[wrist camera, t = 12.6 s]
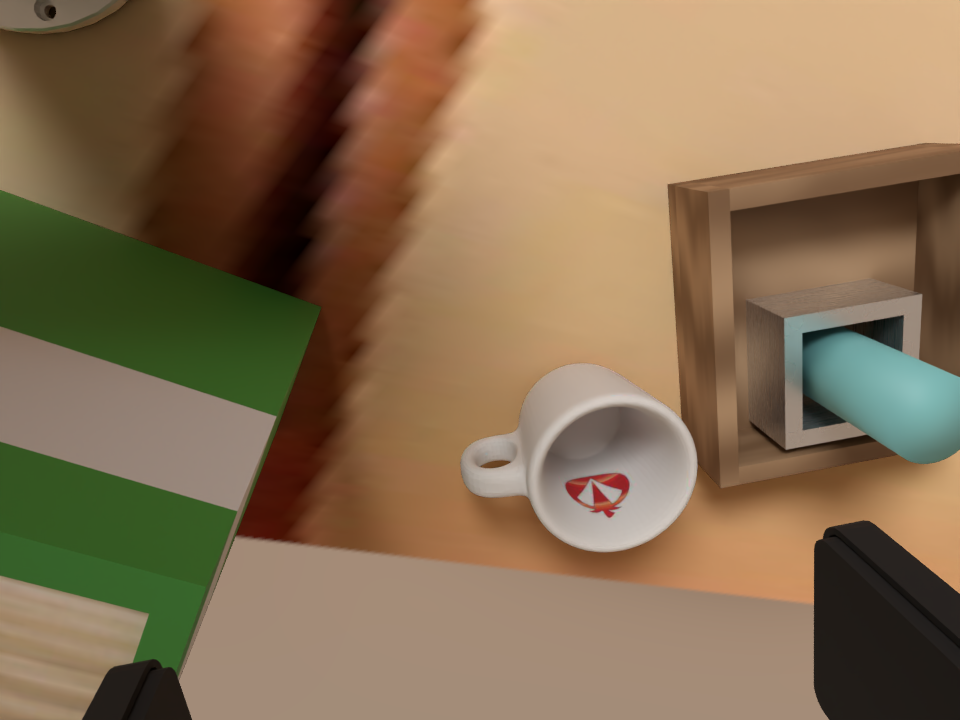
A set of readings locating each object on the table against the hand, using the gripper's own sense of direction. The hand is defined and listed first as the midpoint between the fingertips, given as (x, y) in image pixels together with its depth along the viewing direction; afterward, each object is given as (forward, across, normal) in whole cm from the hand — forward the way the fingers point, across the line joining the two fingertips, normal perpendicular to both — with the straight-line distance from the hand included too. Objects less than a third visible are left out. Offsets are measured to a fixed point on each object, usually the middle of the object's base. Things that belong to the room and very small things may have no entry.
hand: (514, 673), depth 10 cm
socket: (+28, -20, +7) cm, 35 cm away
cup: (+28, -5, +9) cm, 30 cm away
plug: (+27, -20, +7) cm, 34 cm away
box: (+28, -20, +4) cm, 35 cm away
